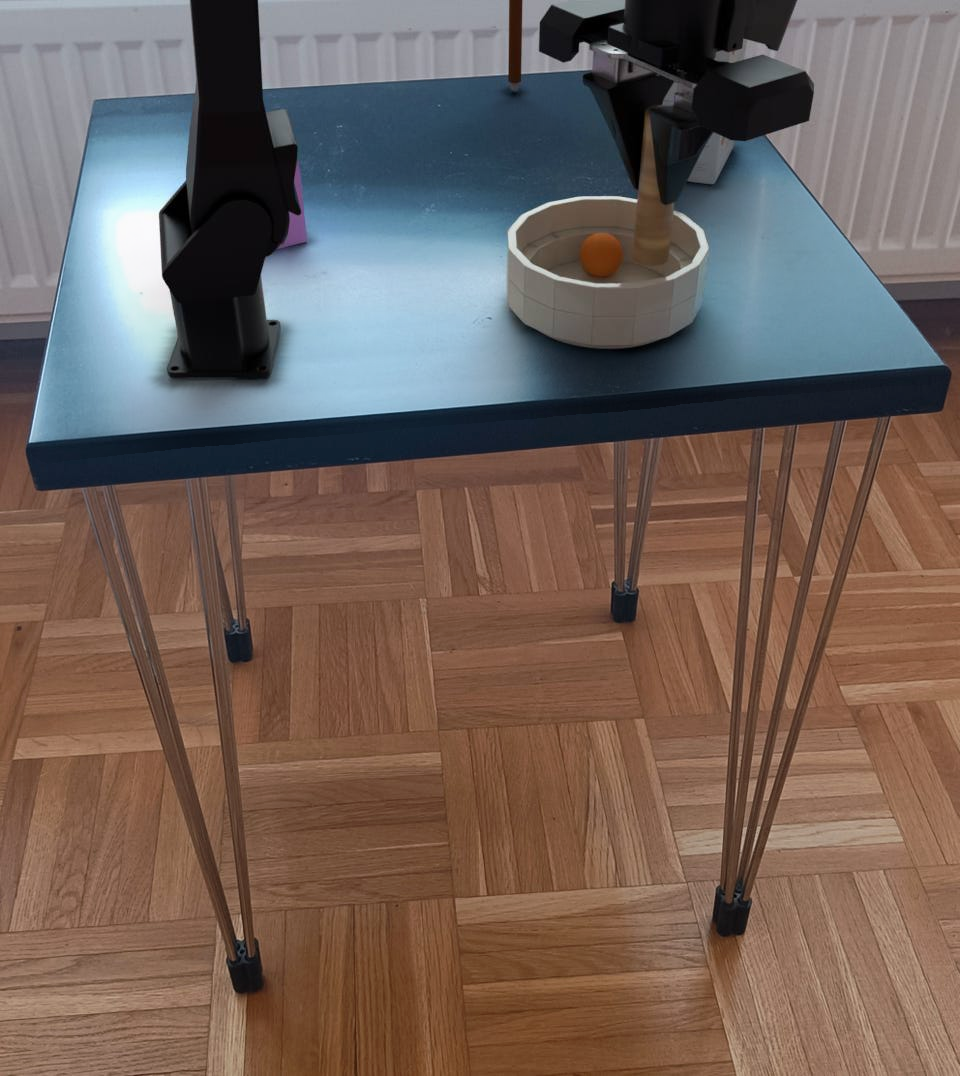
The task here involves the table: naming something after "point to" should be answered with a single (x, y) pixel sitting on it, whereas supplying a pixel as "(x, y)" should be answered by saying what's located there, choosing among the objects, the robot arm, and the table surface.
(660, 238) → the stirring stick
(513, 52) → the magnifying glass
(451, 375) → the table surface
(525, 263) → the bowl
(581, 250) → the ball
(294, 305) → the table surface
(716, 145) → the small box
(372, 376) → the table surface
